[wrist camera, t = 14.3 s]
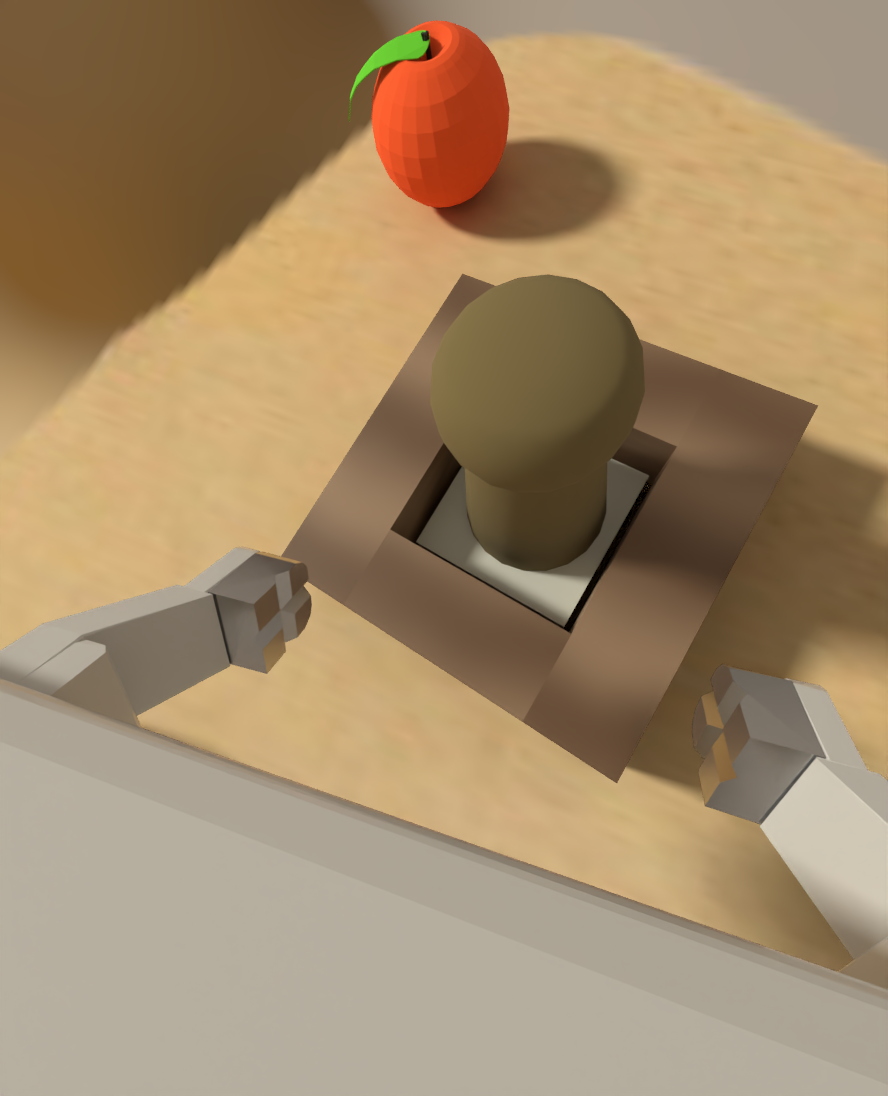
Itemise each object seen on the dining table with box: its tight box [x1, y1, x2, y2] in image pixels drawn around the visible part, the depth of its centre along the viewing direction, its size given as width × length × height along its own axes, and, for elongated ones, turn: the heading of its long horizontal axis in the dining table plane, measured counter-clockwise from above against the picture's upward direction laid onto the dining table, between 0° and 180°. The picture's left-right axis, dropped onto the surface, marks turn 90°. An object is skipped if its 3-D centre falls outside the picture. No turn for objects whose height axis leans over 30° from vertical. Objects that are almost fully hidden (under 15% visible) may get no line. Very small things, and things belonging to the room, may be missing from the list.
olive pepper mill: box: [430, 275, 645, 571], centre depth 15 cm, size 6×6×11 cm
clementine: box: [349, 21, 509, 208], centre depth 24 cm, size 8×7×7 cm
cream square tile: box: [416, 458, 649, 628], centre depth 21 cm, size 7×7×1 cm
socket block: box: [281, 274, 818, 783], centre depth 20 cm, size 15×15×4 cm
